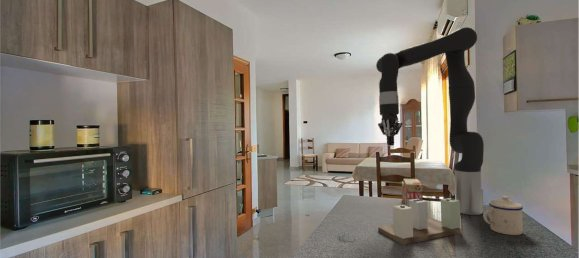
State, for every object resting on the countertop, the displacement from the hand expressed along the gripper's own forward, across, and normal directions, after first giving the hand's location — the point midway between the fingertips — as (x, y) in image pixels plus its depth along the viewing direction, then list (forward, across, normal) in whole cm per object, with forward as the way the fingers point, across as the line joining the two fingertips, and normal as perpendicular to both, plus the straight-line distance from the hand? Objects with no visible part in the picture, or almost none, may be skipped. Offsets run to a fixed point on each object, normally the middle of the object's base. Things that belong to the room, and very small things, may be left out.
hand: (390, 145), depth 116 cm
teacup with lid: (+29, -29, -21) cm, 46 cm away
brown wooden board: (+28, -19, +5) cm, 35 cm away
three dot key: (+27, -19, +5) cm, 33 cm away
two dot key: (+27, -23, -5) cm, 36 cm away
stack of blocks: (+29, +6, -15) cm, 33 cm away
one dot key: (+27, -23, +15) cm, 39 cm away
